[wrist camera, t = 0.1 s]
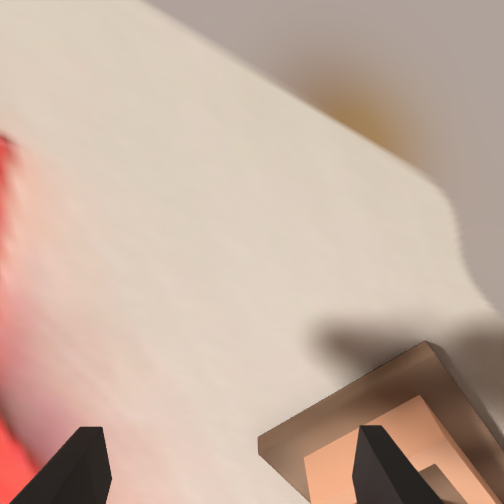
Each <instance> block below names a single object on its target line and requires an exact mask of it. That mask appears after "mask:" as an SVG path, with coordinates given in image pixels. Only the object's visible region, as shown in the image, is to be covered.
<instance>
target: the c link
mask: <svg viewBox="0 0 504 504" xmlns="http://www.w3.org/2000/svg"><path fill="white" fill-rule="evenodd" d="M365 425H382V426H383V427H384V429H385V430H386V431H387V432H388V434H389V435H390V436H391V438H392V439H393V440H394V442H395V443H396V444H397V446H398V447H399V448H400V449H401V451H402V452H403V453H404V455H405V456H406V457H407V458H408V460H409V461H410V462H411V464H412V465H413V466H414V467H415V469H416V470H417V471H418V472H419V471H421V470H423V469H425V468H427V467H429V466H431V465H433V464H436V465H437V466H438V467H439V469H440V470H441V471H442V472H443V474H444V475H445V476H446V477H447V478H448V480H449V481H450V482H451V483H452V485H453V486H454V487H455V488H456V490H457V491H458V492H459V493H460V494H461V496H462V497H463V498H464V499H465V501H466V502H467V503H468V504H502V502H501V501H500V500H499V499H498V497H497V496H496V495H495V493H494V492H493V491H492V489H491V488H490V487H489V485H488V484H487V483H486V481H485V480H484V479H483V477H482V476H481V475H480V473H479V472H478V471H477V470H476V468H475V467H474V466H473V464H472V463H471V462H470V460H469V459H468V458H467V456H466V455H465V454H464V452H463V451H462V450H461V448H460V447H459V446H458V445H457V443H456V442H455V441H454V439H453V438H452V437H451V435H450V434H449V433H448V431H447V430H446V429H445V427H444V426H443V425H442V423H441V422H440V421H439V420H438V418H437V417H436V416H435V414H434V413H433V412H432V410H431V409H430V408H429V406H428V405H427V404H426V402H425V401H424V400H423V398H422V397H421V396H420V395H418V396H416V397H414V398H413V399H411V400H409V401H407V402H405V403H403V404H401V405H400V406H398V407H396V408H394V409H392V410H390V411H389V412H387V413H385V414H383V415H381V416H379V417H378V418H376V419H374V420H372V421H370V422H368V423H367V424H365ZM358 432H359V428H357V429H356V430H354V431H352V432H350V433H348V434H346V435H345V436H343V437H341V438H339V439H337V440H335V441H334V442H332V443H330V444H328V445H326V446H324V447H323V448H321V449H319V450H317V451H315V452H313V453H312V454H310V455H308V456H306V457H304V463H305V469H306V475H307V481H308V487H309V493H310V500H311V504H357V500H356V495H355V490H354V485H353V480H352V472H353V465H354V459H355V452H356V445H357V439H358Z"/></svg>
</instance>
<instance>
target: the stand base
mask: <svg viewBox="0 0 504 504" xmlns="http://www.w3.org/2000/svg"><path fill="white" fill-rule="evenodd" d="M418 395H420V396H421V397H422V398H423V400H424V401H425V402H426V404H427V405H428V406H429V408H430V409H431V410H432V412H433V413H434V414H435V416H436V417H437V418H438V420H439V421H440V422H441V423H442V425H443V426H444V427H445V429H446V430H447V431H448V433H449V434H450V435H451V437H452V438H453V439H454V441H455V442H456V443H457V445H458V446H459V447H460V448H461V450H462V451H463V452H464V454H465V455H466V456H467V458H468V459H469V460H470V462H471V463H472V464H473V466H474V467H475V468H476V470H477V471H478V472H479V473H480V475H481V476H482V477H483V479H484V480H485V481H486V483H487V484H488V485H489V487H490V488H491V489H492V491H493V492H494V493H495V495H496V496H497V497H498V499H499V500H500V501H501V502H502V504H504V451H503V450H502V448H501V447H500V446H499V444H498V443H497V441H496V440H495V438H494V437H493V436H492V434H491V433H490V431H489V430H488V428H487V427H486V426H485V424H484V423H483V421H482V420H481V418H480V417H479V416H478V414H477V413H476V411H475V410H474V408H473V407H472V406H471V404H470V403H469V401H468V400H467V399H466V397H465V396H464V394H463V393H462V391H461V390H460V389H459V387H458V386H457V384H456V383H455V381H454V380H453V379H452V377H451V376H450V374H449V373H448V371H447V370H446V369H445V367H444V366H443V364H442V363H441V361H440V360H439V359H438V357H437V356H436V354H435V353H434V352H433V350H432V349H431V348H430V346H429V345H428V344H427V342H426V341H424V342H422V343H420V344H419V345H417V346H415V347H413V348H412V349H410V350H408V351H407V352H405V353H403V354H401V355H400V356H398V357H396V358H394V359H393V360H391V361H389V362H387V363H386V364H384V365H382V366H381V367H379V368H377V369H375V370H374V371H372V372H370V373H368V374H367V375H365V376H363V377H361V378H360V379H358V380H356V381H355V382H353V383H351V384H349V385H348V386H346V387H344V388H342V389H341V390H339V391H337V392H336V393H334V394H332V395H330V396H329V397H327V398H325V399H323V400H322V401H320V402H318V403H316V404H315V405H313V406H311V407H310V408H308V409H306V410H304V411H303V412H301V413H299V414H297V415H296V416H294V417H292V418H290V419H289V420H287V421H285V422H284V423H282V424H280V425H278V426H277V427H275V428H273V429H271V430H270V431H268V432H266V433H265V434H263V435H261V436H259V437H258V454H259V455H260V456H261V457H262V458H263V459H264V460H265V461H266V462H267V463H268V464H269V465H270V466H272V467H273V468H274V469H275V470H276V471H277V472H278V473H279V474H280V475H281V476H282V477H283V478H284V479H285V480H286V481H287V482H288V483H289V484H291V485H292V486H293V487H294V488H295V489H296V490H297V491H298V492H299V493H300V494H301V495H302V496H303V497H304V498H305V499H306V500H307V501H308V502H310V503H311V500H310V493H309V487H308V481H307V475H306V469H305V463H304V457H306V456H308V455H310V454H312V453H313V452H315V451H317V450H319V449H321V448H323V447H324V446H326V445H328V444H330V443H332V442H334V441H335V440H337V439H339V438H341V437H343V436H345V435H346V434H348V433H350V432H352V431H354V430H356V429H357V428H359V425H365V424H367V423H368V422H370V421H372V420H374V419H376V418H378V417H379V416H381V415H383V414H385V413H387V412H389V411H390V410H392V409H394V408H396V407H398V406H400V405H401V404H403V403H405V402H407V401H409V400H411V399H413V398H414V397H416V396H418ZM419 474H420V475H421V476H422V477H423V478H424V480H425V481H426V482H427V483H428V484H429V486H430V487H431V488H432V489H433V490H434V492H435V493H436V494H437V495H438V496H439V498H440V499H441V500H442V501H443V502H444V503H445V504H468V503H467V502H466V501H465V499H464V498H463V497H462V496H461V494H460V493H459V492H458V491H457V490H456V488H455V487H454V486H453V485H452V483H451V482H450V481H449V480H448V478H447V477H446V476H445V475H444V474H443V472H442V471H441V470H440V469H439V467H438V466H437V465H436V464H433V465H431V466H429V467H427V468H425V469H423V470H421V471H419Z"/></svg>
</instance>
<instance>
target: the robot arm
mask: <svg viewBox="0 0 504 504" xmlns="http://www.w3.org/2000/svg"><path fill="white" fill-rule="evenodd" d="M352 480H353V485H354V490H355V495H356V500H357V504H445V503H444V502H443V501H442V500H441V499H440V498H439V496H438V495H437V494H436V493H435V492H434V490H433V489H432V488H431V487H430V486H429V484H428V483H427V482H426V481H425V480H424V478H423V477H422V476H421V475H420V474H419V472H418V471H417V470H416V469H415V467H414V466H413V465H412V464H411V462H410V461H409V460H408V458H407V457H406V456H405V455H404V453H403V452H402V451H401V449H400V448H399V447H398V446H397V444H396V443H395V442H394V440H393V439H392V438H391V436H390V435H389V434H388V432H387V431H386V430H385V429H384V427H383V426H382V425H359V432H358V439H357V445H356V452H355V459H354V465H353V472H352ZM111 481H112V476H111V471H110V465H109V460H108V455H107V449H106V444H105V439H104V433H103V428H102V427H80V428H79V429H78V430H77V431H76V432H75V433H74V434H73V435H72V436H71V437H70V438H69V439H68V440H67V442H66V443H65V444H64V445H63V446H62V447H61V448H60V449H59V450H58V452H57V453H56V454H55V455H54V456H53V457H52V458H51V459H50V460H49V462H48V463H47V464H46V465H45V466H44V467H43V468H42V469H41V470H40V471H39V472H38V474H37V475H36V476H35V477H34V478H33V479H32V480H31V481H30V482H29V483H28V484H27V485H26V486H25V487H24V488H23V489H22V491H21V492H20V493H19V494H18V495H17V496H16V497H15V498H14V499H13V500H12V501H11V502H10V503H9V504H106V500H107V496H108V492H109V489H110V485H111Z"/></svg>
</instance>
